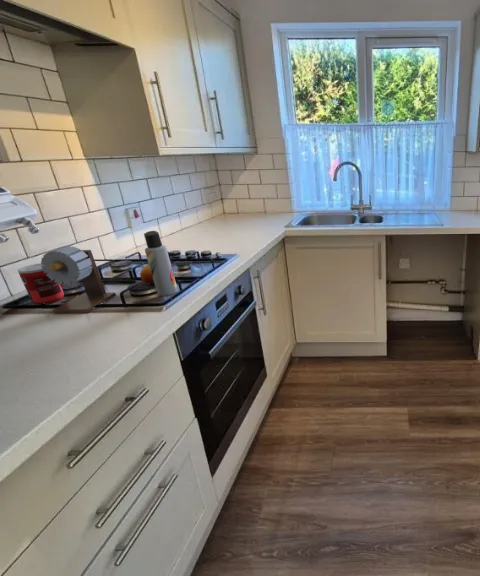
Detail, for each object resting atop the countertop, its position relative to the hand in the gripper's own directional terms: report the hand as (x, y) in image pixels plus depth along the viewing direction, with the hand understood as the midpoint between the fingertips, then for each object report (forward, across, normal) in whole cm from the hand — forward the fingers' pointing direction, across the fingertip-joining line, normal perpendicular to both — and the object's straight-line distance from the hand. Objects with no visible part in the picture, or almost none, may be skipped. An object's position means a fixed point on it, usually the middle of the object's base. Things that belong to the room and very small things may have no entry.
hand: (22, 236), depth 99 cm
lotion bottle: (+36, +9, -6) cm, 38 cm away
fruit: (+30, +19, +1) cm, 36 cm away
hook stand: (+22, +2, +9) cm, 24 cm away
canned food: (+12, +6, +20) cm, 24 cm away
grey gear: (+16, 0, +3) cm, 17 cm away
